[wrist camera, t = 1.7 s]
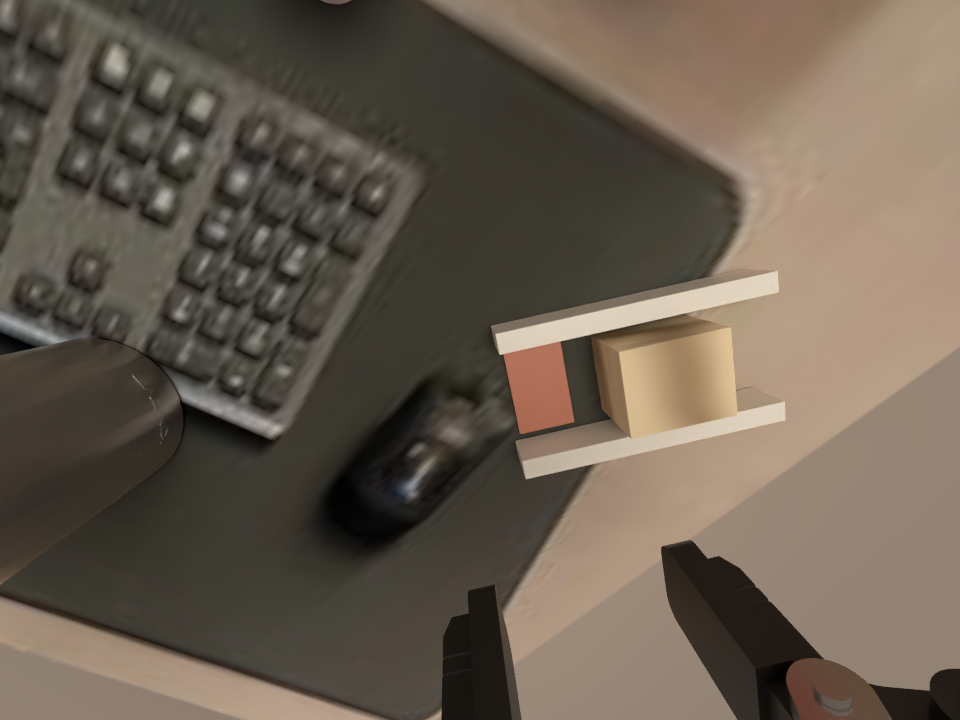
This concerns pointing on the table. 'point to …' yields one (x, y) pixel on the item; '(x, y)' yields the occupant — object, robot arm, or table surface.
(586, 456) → the channel
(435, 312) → the table surface
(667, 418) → the maple block
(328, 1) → the smoothie
